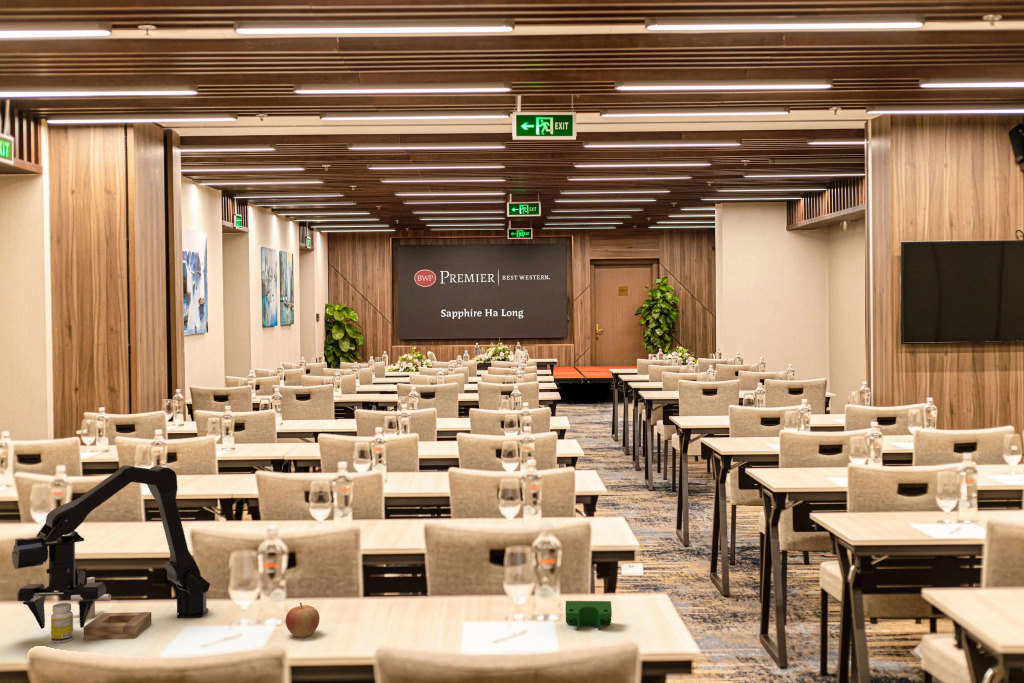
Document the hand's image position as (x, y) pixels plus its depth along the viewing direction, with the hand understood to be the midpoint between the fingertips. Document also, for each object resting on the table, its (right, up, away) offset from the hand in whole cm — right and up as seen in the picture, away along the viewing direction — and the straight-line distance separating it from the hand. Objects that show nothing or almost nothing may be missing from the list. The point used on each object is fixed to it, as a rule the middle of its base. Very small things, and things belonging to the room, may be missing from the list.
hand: (62, 627), depth 228 cm
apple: (+57, -3, +1) cm, 57 cm away
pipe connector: (-2, -3, +20) cm, 20 cm away
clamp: (+126, -2, +6) cm, 126 cm away
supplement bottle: (0, -3, 0) cm, 3 cm away
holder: (+11, -3, +6) cm, 13 cm away
